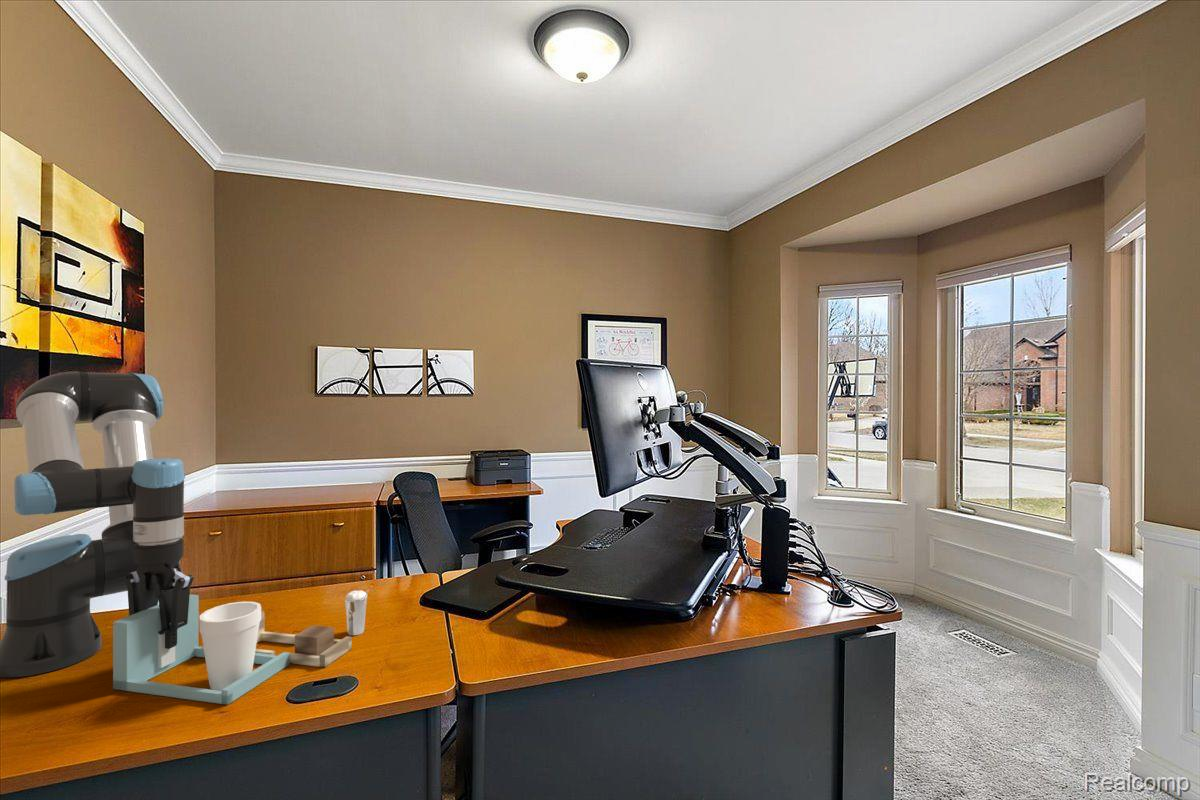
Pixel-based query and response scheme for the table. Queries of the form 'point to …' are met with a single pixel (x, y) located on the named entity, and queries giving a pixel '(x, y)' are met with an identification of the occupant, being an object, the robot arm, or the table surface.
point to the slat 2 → (323, 654)
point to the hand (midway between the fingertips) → (158, 662)
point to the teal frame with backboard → (140, 658)
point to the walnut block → (314, 640)
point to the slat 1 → (271, 636)
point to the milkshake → (356, 611)
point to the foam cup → (229, 641)
